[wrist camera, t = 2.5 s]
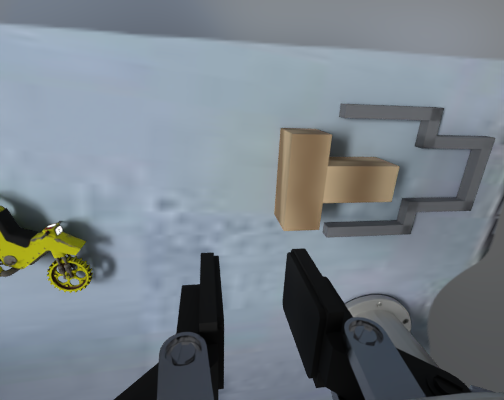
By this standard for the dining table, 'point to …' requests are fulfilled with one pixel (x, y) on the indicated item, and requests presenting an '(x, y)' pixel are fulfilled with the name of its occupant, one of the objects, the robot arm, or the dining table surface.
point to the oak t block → (324, 178)
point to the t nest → (425, 139)
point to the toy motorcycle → (42, 251)
